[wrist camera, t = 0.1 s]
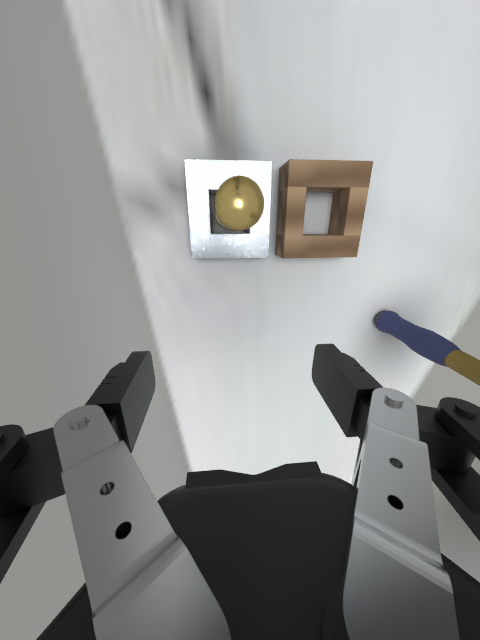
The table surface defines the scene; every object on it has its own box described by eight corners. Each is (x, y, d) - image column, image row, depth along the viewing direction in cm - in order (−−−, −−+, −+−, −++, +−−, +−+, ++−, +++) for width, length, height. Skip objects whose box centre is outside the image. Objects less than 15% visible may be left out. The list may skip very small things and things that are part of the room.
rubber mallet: (382, 350, 48) (614, 523, 20) (350, 343, 46) (551, 517, 19) (414, 291, 44) (761, 407, 16) (380, 281, 42) (694, 388, 15)
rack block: (279, 168, 34) (289, 159, 30) (352, 169, 35) (373, 161, 31) (275, 254, 39) (283, 258, 34) (340, 253, 40) (356, 256, 35)
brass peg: (214, 198, 35) (213, 174, 18) (241, 198, 35) (265, 175, 19) (215, 228, 37) (215, 231, 20) (241, 228, 37) (263, 231, 20)
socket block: (187, 166, 33) (184, 159, 30) (265, 168, 34) (272, 161, 30) (194, 255, 38) (192, 258, 34) (263, 254, 39) (268, 257, 35)
